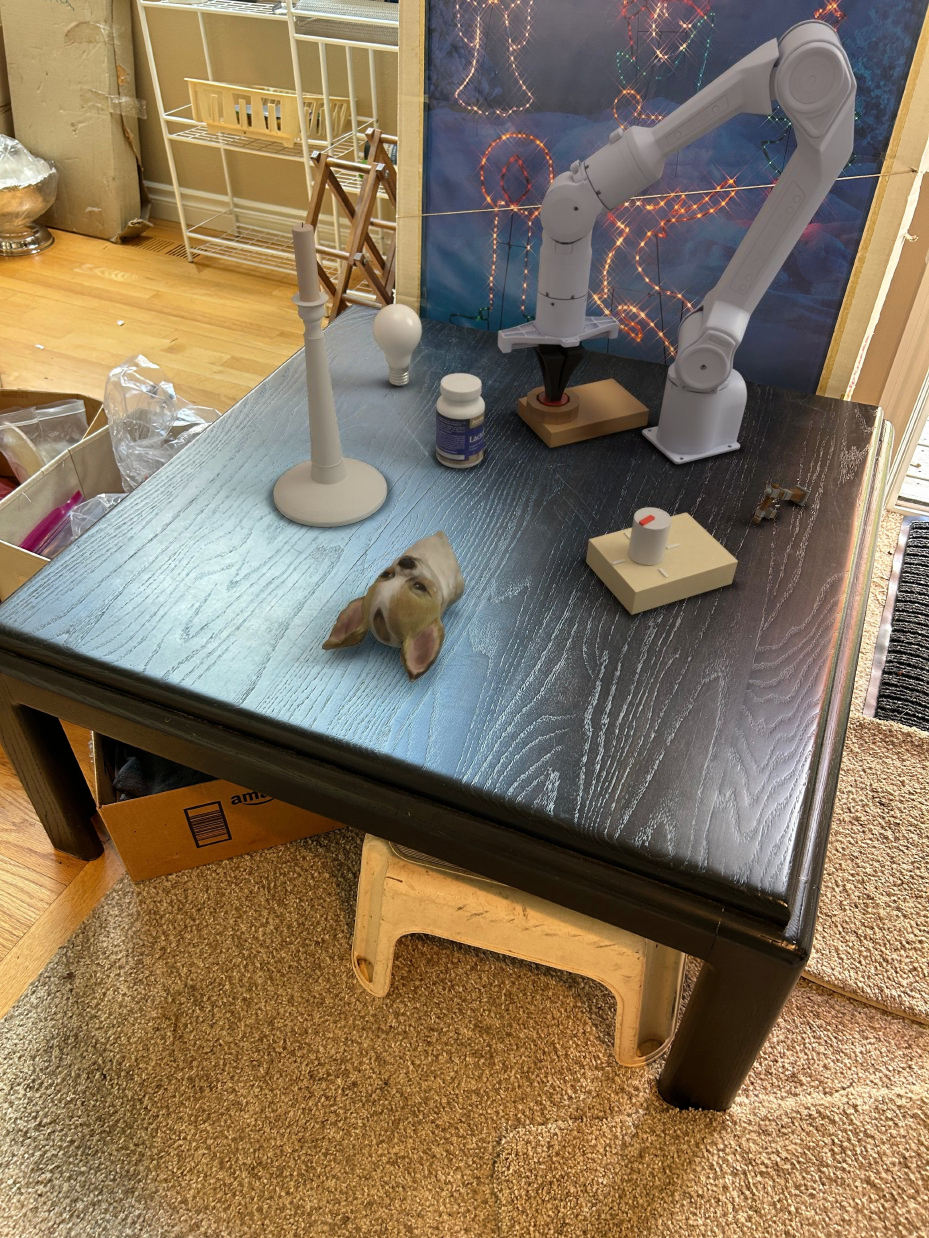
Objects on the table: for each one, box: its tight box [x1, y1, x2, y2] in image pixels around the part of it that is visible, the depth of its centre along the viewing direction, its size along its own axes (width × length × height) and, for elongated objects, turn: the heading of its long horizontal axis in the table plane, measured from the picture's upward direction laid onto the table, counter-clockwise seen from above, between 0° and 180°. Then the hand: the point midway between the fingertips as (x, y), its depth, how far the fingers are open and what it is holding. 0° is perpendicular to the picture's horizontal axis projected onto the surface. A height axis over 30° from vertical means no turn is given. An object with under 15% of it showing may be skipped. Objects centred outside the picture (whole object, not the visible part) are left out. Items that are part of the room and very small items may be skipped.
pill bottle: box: [435, 372, 486, 469], centre depth 105 cm, size 6×6×10 cm
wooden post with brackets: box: [752, 483, 811, 524], centre depth 100 cm, size 2×8×4 cm, turn 127°
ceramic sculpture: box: [321, 529, 466, 683], centre depth 83 cm, size 11×9×15 cm
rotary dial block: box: [585, 512, 739, 616], centre depth 92 cm, size 12×9×3 cm
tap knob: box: [628, 506, 672, 566], centre depth 89 cm, size 4×4×5 cm
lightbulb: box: [372, 303, 423, 387], centre depth 118 cm, size 6×6×11 cm
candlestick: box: [272, 221, 388, 528], centre depth 93 cm, size 13×13×30 cm
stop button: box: [538, 392, 568, 407], centre depth 112 cm, size 4×4×2 cm
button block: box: [517, 378, 650, 449], centre depth 114 cm, size 15×9×4 cm, turn 114°
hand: (553, 397), depth 111 cm, fingers closed, pressing on stop button
